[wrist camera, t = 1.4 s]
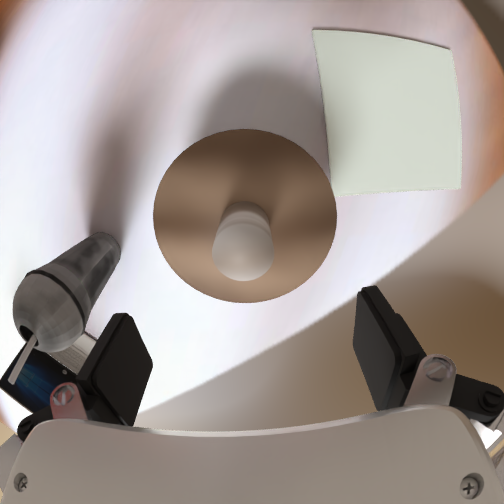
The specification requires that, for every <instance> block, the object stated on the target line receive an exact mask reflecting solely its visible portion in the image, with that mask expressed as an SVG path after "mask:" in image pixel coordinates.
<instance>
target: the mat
mask: <svg viewBox="0 0 504 504" xmlns="http://www.w3.org/2000/svg"><path fill="white" fill-rule="evenodd" d="M312 36H313V42H314V47H315V53H316V58H317V64H318V71H319V77H320V84H321V91H322V99H323V106H324V115H325V124H326V133H327V144H328V155H329V168H330V183H331V188H332V190H333V194H334V197H339V196H350V195H362V194H375V193H388V192H404V191H422V190H444V189H461V171H462V136H461V117H460V104H459V95H458V87H457V79H456V73H455V67H454V61H453V56H452V51H451V50H448V49H445V48H441V47H437V46H434V45H430V44H426V43H421V42H417V41H412V40H408V39H402V38H397V37H391V36H385V35H378V34H370V33H361V32H350V31H335V30H312Z"/></svg>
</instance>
